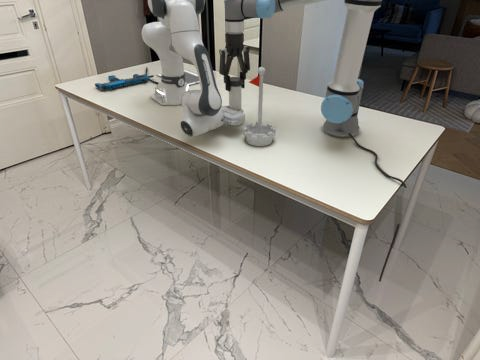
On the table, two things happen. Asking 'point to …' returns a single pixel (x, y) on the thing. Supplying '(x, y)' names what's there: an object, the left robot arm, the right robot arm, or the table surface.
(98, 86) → the submachine gun
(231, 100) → the jar
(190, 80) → the tablet
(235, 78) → the lid
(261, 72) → the flag stand
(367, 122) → the table surface
